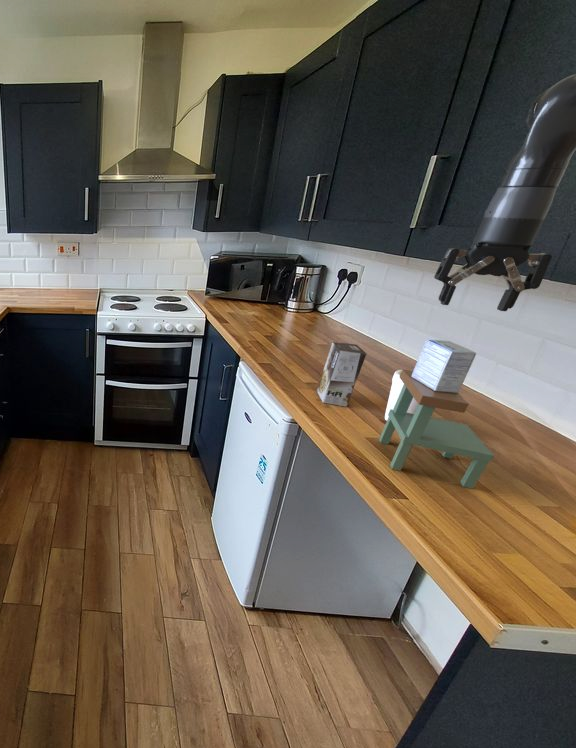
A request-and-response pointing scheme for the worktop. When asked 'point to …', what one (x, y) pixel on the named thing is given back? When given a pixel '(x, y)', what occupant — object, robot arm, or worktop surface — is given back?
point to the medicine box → (443, 365)
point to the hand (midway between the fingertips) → (472, 307)
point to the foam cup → (394, 395)
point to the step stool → (433, 428)
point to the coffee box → (340, 373)
